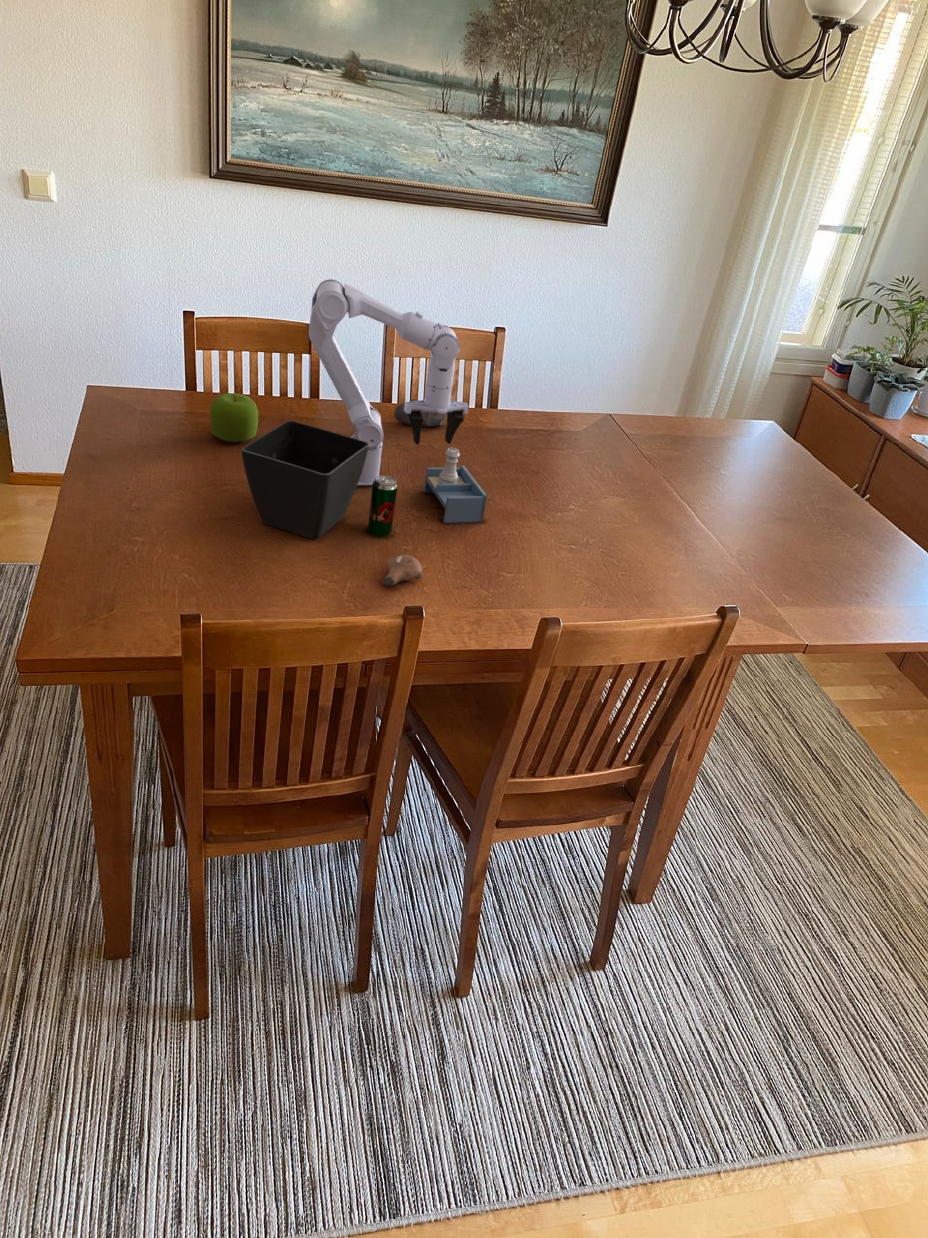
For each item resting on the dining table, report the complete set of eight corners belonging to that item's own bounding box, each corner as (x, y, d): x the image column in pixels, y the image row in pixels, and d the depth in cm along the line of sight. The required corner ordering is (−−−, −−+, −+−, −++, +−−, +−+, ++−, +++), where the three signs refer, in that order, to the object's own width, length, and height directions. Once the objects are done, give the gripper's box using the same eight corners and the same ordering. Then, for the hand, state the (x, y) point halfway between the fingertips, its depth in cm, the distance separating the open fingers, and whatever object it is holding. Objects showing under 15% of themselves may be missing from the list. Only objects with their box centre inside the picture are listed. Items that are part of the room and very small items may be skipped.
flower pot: (237, 524, 179) (238, 447, 170) (284, 490, 194) (288, 417, 185) (321, 553, 175) (327, 475, 166) (363, 516, 190) (371, 443, 181)
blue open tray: (444, 522, 194) (448, 496, 190) (423, 491, 205) (427, 465, 201) (482, 521, 197) (487, 495, 193) (459, 490, 208) (463, 465, 205)
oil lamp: (371, 572, 174) (385, 595, 168) (371, 555, 171) (384, 577, 165) (414, 564, 177) (429, 586, 171) (414, 547, 174) (429, 568, 168)
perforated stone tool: (393, 426, 234) (396, 401, 230) (391, 419, 238) (394, 394, 234) (449, 431, 237) (453, 406, 234) (446, 423, 242) (450, 398, 238)
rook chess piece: (449, 488, 199) (455, 455, 194) (434, 481, 200) (439, 448, 196) (461, 483, 202) (467, 451, 197) (446, 476, 204) (451, 443, 199)
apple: (251, 450, 208) (252, 406, 202) (205, 443, 208) (205, 399, 202) (261, 432, 218) (263, 389, 212) (217, 425, 217) (217, 382, 211)
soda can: (395, 531, 187) (402, 479, 180) (384, 540, 183) (390, 488, 176) (375, 523, 188) (380, 472, 182) (362, 532, 184) (368, 480, 178)
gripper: (413, 391, 190) (406, 450, 197) (476, 391, 195) (467, 448, 202) (403, 379, 195) (397, 437, 203) (465, 379, 200) (457, 436, 208)
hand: (432, 442), depth 203 cm, fingers open, 7 cm apart
